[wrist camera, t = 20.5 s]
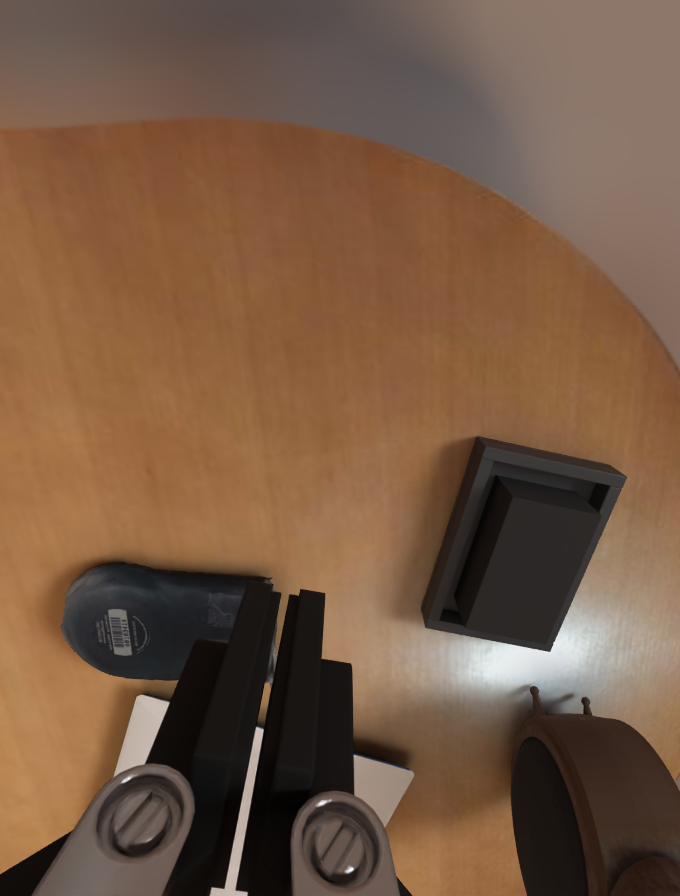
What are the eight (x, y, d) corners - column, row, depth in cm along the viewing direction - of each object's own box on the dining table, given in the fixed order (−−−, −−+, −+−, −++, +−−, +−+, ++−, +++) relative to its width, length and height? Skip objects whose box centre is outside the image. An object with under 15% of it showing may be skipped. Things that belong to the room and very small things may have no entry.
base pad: (476, 436, 32) (485, 446, 30) (610, 464, 32) (627, 476, 30) (420, 609, 36) (424, 628, 34) (539, 632, 36) (550, 652, 34)
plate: (147, 675, 38) (136, 696, 36) (413, 751, 40) (416, 775, 38) (93, 857, 45) (82, 883, 43) (323, 914, 47) (322, 942, 45)
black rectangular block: (495, 474, 32) (512, 496, 28) (575, 491, 32) (602, 515, 29) (453, 595, 35) (464, 628, 31) (527, 610, 35) (546, 644, 32)
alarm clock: (510, 656, 37) (680, 1047, 18) (605, 661, 37) (875, 1057, 18) (483, 794, 42) (595, 1220, 23) (568, 799, 42) (751, 1227, 23)
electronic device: (274, 543, 36) (57, 555, 34) (275, 597, 31) (20, 615, 29) (278, 635, 40) (84, 651, 38) (279, 696, 35) (57, 717, 33)
